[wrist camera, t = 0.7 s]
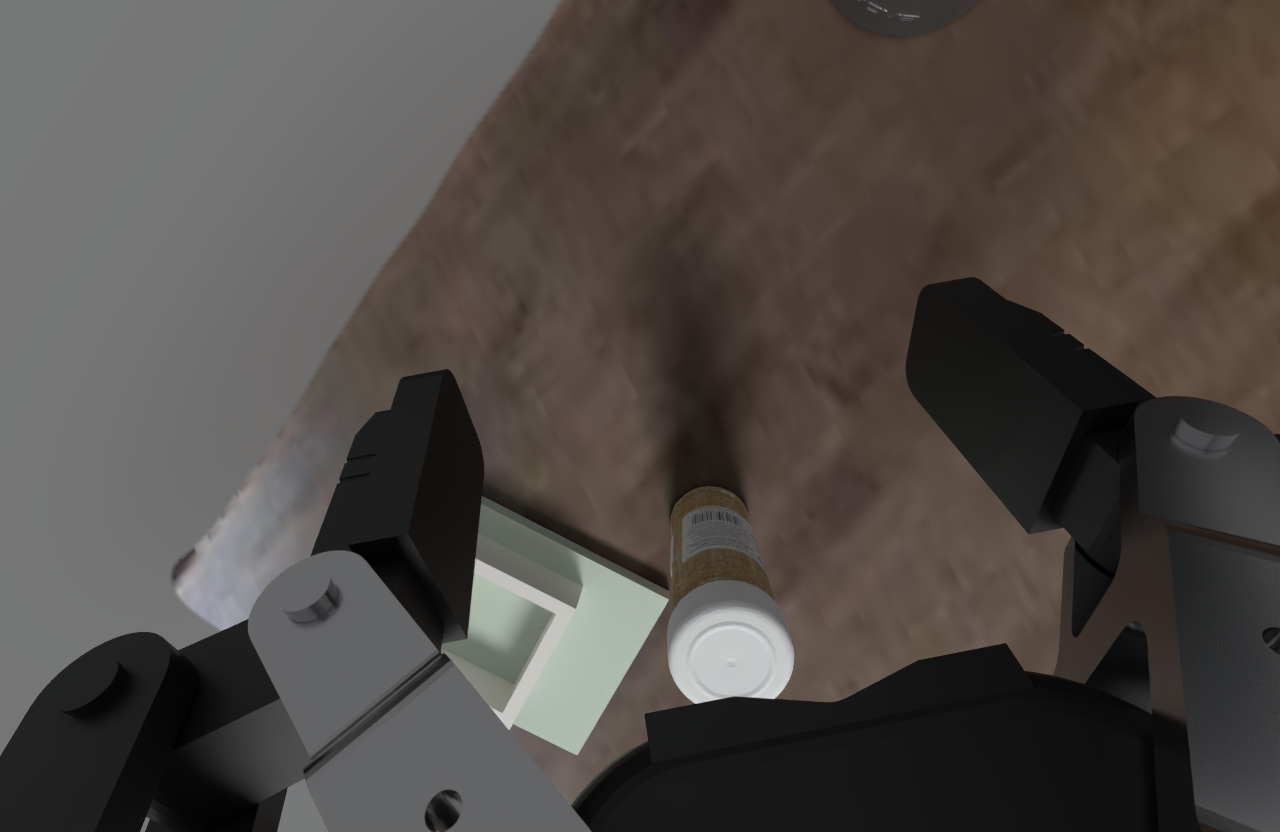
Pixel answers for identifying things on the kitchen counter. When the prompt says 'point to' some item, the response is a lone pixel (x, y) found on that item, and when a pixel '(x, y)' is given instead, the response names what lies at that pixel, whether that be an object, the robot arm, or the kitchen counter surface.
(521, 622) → the socket board
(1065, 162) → the kitchen counter surface
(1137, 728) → the robot arm
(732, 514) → the spice jar
